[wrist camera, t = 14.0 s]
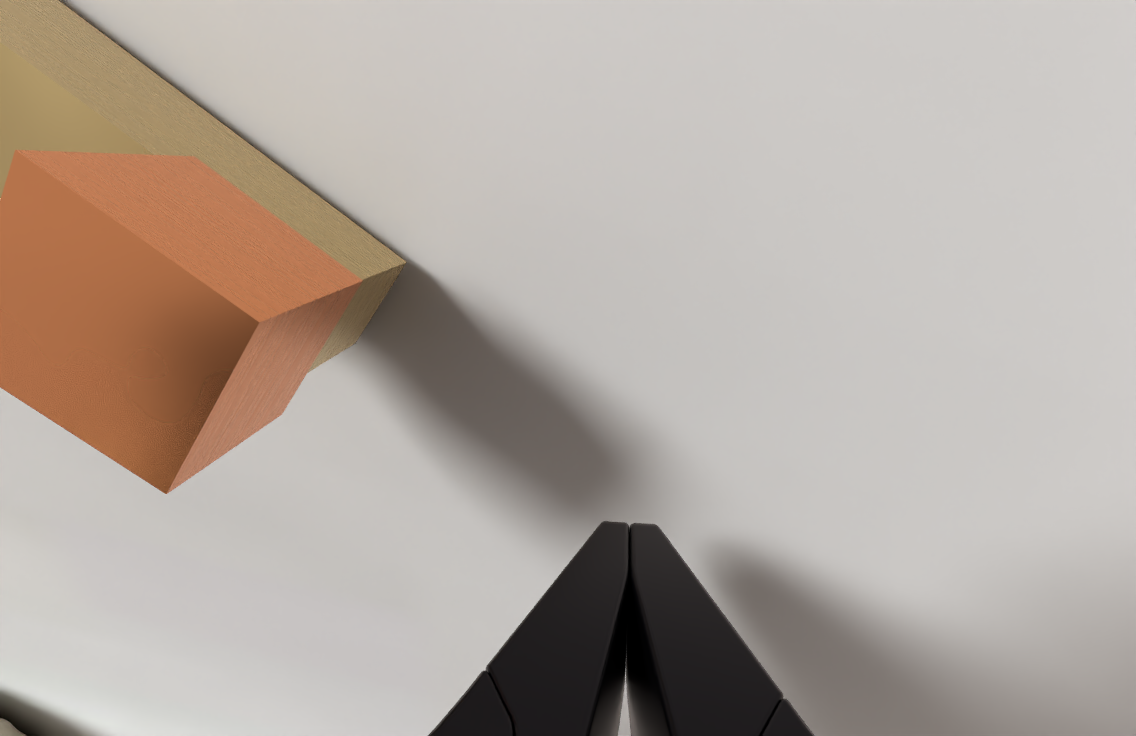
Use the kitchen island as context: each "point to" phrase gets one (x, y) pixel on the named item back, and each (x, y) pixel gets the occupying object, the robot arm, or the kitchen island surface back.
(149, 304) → the lock bar
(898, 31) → the kitchen island surface
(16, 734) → the canister
